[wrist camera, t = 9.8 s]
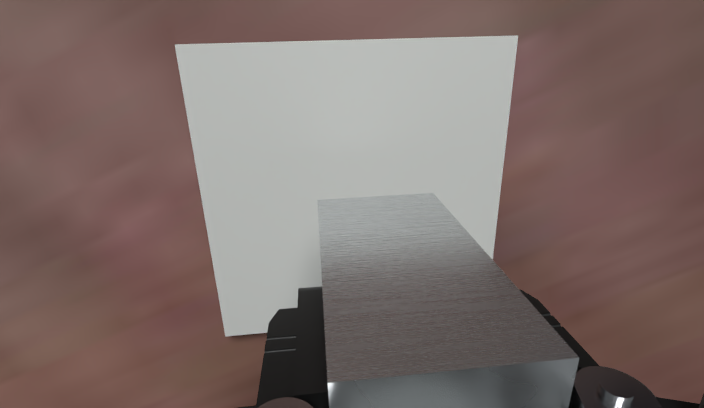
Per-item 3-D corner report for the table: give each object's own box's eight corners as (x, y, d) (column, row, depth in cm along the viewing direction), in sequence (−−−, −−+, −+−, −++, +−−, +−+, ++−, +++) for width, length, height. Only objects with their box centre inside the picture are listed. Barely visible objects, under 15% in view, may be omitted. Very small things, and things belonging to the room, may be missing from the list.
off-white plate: (229, 324, 21) (225, 336, 20) (182, 45, 16) (174, 44, 15) (479, 302, 23) (486, 312, 22) (507, 36, 18) (518, 35, 17)
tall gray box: (323, 300, 15) (338, 548, 7) (317, 200, 13) (327, 383, 6) (428, 291, 15) (543, 520, 8) (433, 192, 14) (579, 357, 6)
